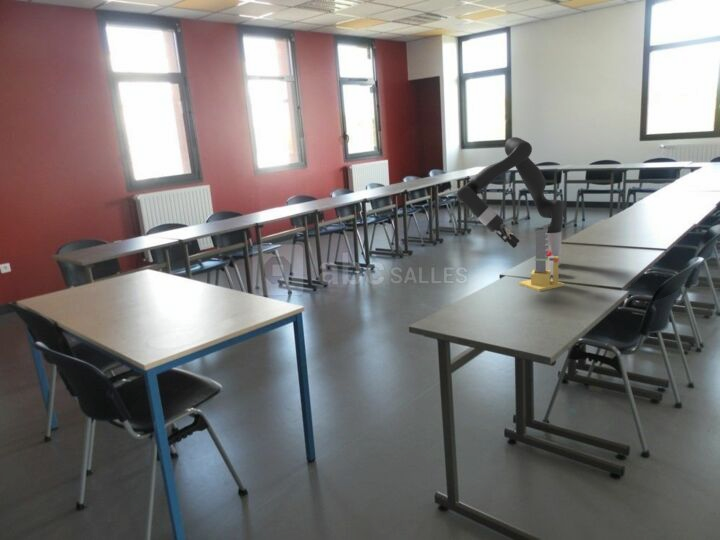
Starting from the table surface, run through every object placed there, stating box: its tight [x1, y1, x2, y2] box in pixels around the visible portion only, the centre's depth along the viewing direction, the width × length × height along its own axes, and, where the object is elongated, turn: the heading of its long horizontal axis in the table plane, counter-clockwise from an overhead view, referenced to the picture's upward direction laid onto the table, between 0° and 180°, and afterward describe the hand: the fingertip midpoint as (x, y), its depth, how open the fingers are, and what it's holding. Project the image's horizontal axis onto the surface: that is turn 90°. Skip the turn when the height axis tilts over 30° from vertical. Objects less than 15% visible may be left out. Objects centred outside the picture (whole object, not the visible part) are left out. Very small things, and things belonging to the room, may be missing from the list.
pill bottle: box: [546, 251, 554, 276], centre depth 255 cm, size 8×8×11 cm
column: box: [534, 227, 548, 272], centre depth 235 cm, size 6×5×19 cm
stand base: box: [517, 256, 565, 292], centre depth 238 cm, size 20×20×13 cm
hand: (516, 244), depth 239 cm, fingers open, 8 cm apart
